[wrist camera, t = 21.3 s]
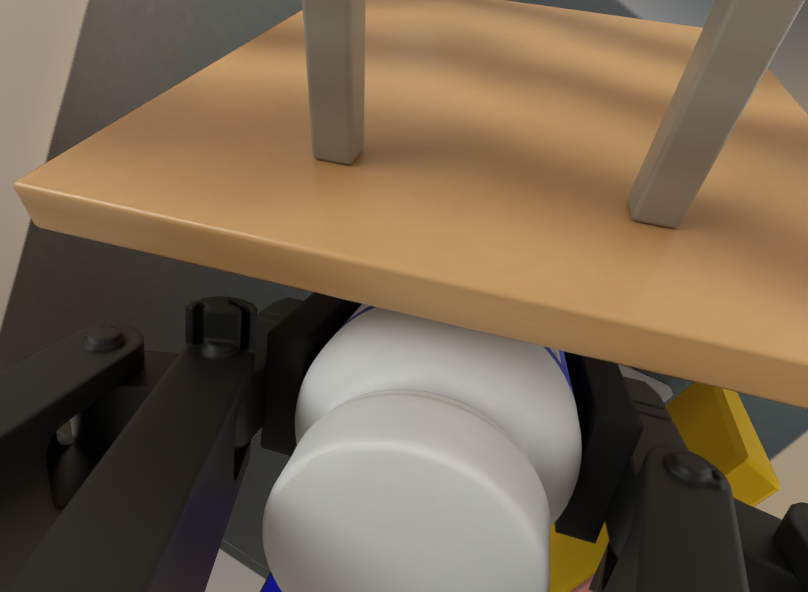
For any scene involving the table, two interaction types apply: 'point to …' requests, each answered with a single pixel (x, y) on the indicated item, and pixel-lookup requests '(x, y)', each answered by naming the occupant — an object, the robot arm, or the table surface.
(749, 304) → the lid
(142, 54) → the table surface
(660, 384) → the toy computer monitor
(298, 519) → the pill bottle
